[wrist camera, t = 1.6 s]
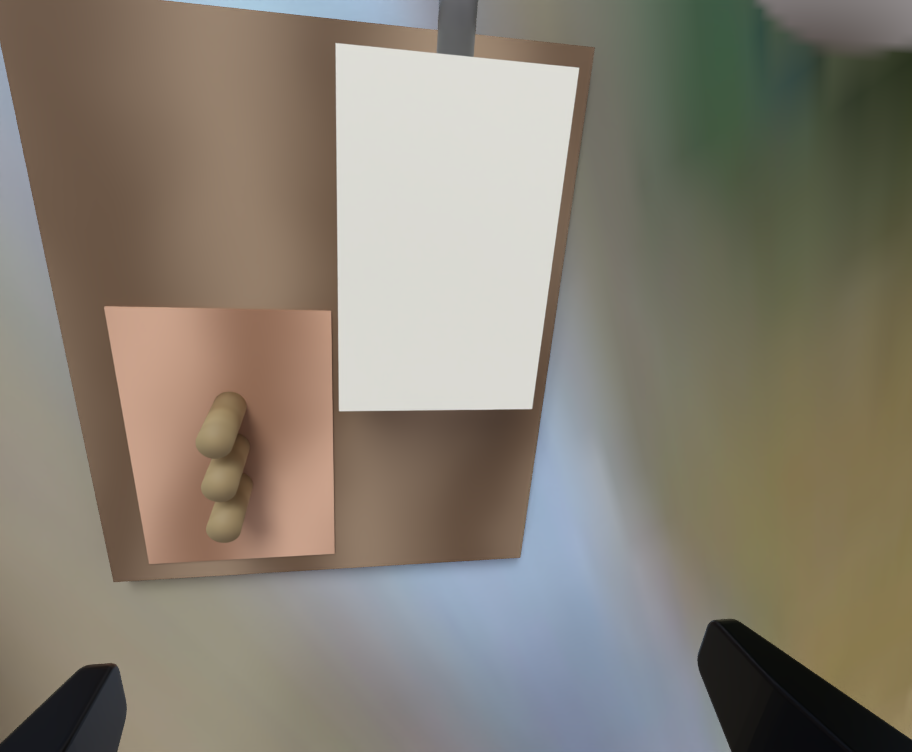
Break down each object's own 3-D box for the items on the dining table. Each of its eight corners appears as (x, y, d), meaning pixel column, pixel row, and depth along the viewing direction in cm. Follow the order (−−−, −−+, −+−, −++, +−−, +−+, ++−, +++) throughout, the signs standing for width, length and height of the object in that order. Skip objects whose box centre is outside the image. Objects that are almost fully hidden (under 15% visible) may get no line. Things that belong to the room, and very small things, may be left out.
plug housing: (341, 346, 18) (338, 410, 14) (338, -66, 14) (333, -141, 10) (493, 347, 19) (532, 408, 15) (533, -40, 15) (602, -99, 11)
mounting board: (121, 566, 21) (84, 639, 18) (5, -12, 14) (-86, -47, 11) (515, 544, 24) (538, 604, 21) (584, 50, 17) (634, 35, 14)
